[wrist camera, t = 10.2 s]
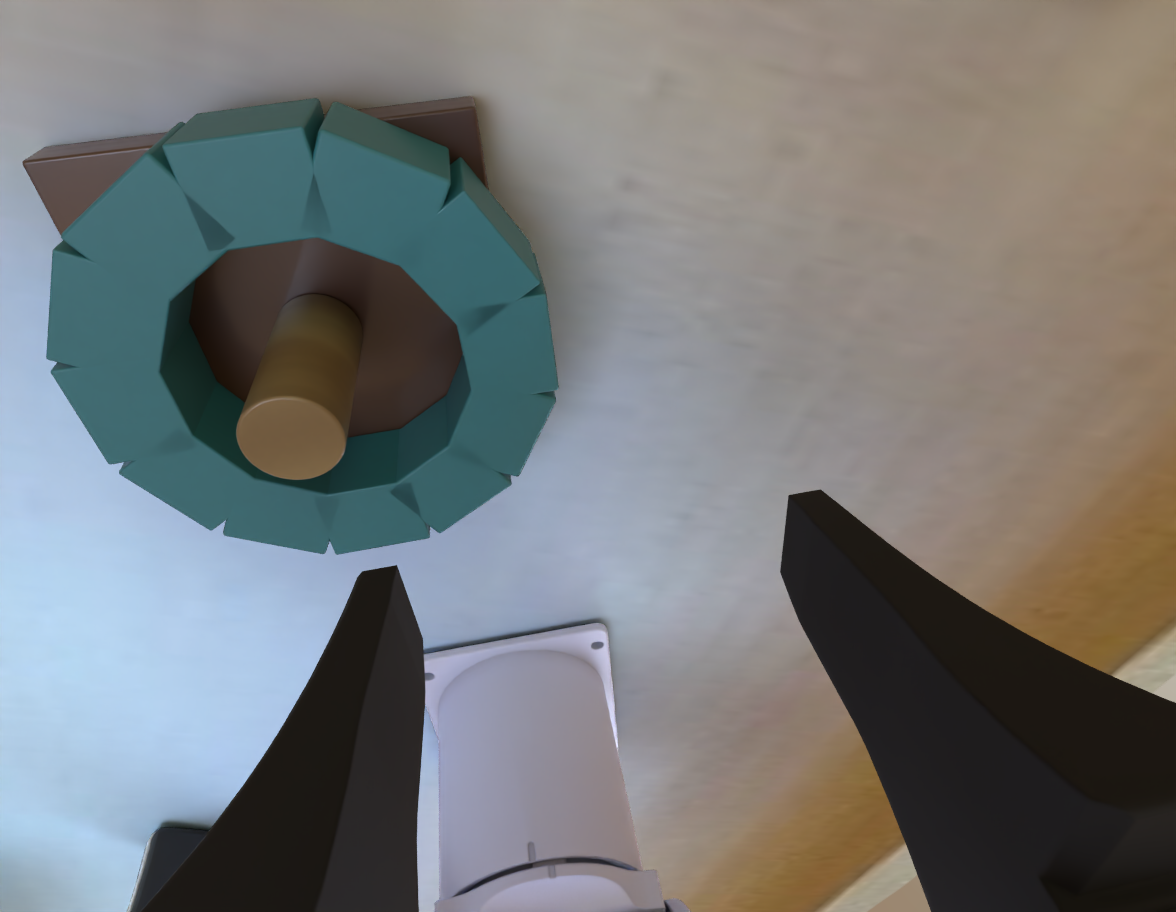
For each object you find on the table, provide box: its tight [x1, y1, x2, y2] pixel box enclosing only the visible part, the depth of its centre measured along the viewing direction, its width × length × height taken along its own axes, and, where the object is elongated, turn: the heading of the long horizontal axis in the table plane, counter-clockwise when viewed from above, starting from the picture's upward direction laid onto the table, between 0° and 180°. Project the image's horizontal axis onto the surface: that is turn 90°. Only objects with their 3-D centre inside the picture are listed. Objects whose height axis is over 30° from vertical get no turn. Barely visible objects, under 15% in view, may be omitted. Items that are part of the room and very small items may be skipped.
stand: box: [23, 96, 489, 480], centre depth 18 cm, size 10×10×6 cm
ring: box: [46, 98, 559, 555], centre depth 19 cm, size 11×11×3 cm
